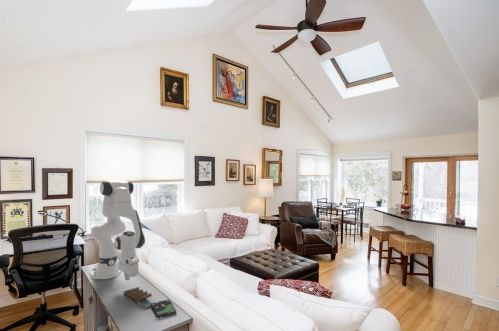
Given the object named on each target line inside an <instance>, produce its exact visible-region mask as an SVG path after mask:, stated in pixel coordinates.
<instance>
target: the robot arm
mask: <svg viewBox="0 0 499 331" xmlns="http://www.w3.org/2000/svg"><path fill="white" fill-rule="evenodd" d="M134 186H135V185H134V183H133V182H132V181H130V180H120V179H119V180H105V181H104V180H103V181H102V182H101V183H100V186H99V191H100V194H101V195H102V196H104V197H103V201H102V212H101V213H102V216H103V217H105V218H106V220H107V222H104V223H99V224H97V225H94V226H93V227H92V228H91V230H90V231H91V232H90V234H91V237H92V239H94V240H96V241H97V244H98V245H99V257H98V260H97V262H96V264H95V265H94V266H93V268H92V271H90V273H91V274H90V276H91V278H92V279H93V280H108V279H113V278H115V277H118V276H119V274H121V273H123V275H124V276H123V277H124V280H126V281H127V282H129V281H130V280H131V278H133V277H137V276H138V275H139V263H140V259H139V257H138V256H137V253H136V252H137V251H136V249H141V248H142V247H143V246H144V245H145V244H146V238H145V234H144V232H143V228H142V225H141V220H140V216H139V214H138V211H137V210H136V209H135V208H134V207H133V204H132V197H131V195H132V194H133V192H134ZM121 217H122V218H126V219H128V220H130V221H131V222H132V224H133V228H134V231H131V230H130V231H129V230H127V231H126V224H125V222H124V221H123V220H122V219H121ZM113 237H116V238H115V240H114V241H113V239H112V238H113ZM118 251H121V252H120V257H119V259H118V253H117V252H118Z"/></svg>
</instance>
